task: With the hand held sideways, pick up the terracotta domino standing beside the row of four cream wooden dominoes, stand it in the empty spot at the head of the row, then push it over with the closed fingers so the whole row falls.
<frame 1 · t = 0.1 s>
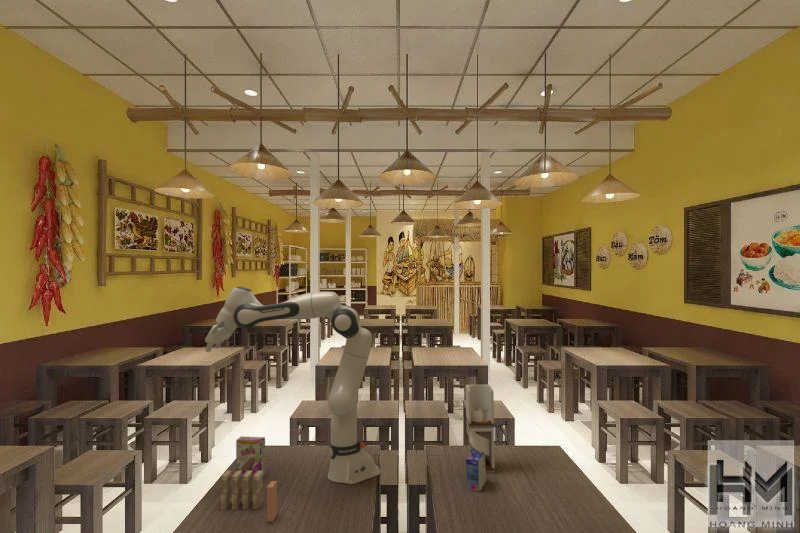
hand: (211, 349, 204), 54 cm above the table, tool tilted 30°, fingers open, 8 cm apart
cream domino 3: (237, 505, 179), on the table
ink cartridge box: (476, 486, 192), on the table
cream domino 4: (226, 505, 179), on the table
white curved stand: (480, 468, 209), on the table
cream domino 2: (247, 505, 178), on the table
cream domino 1: (258, 505, 178), on the table
candy bar box: (251, 477, 203), on the table
terracotta domino: (272, 518, 169), on the table
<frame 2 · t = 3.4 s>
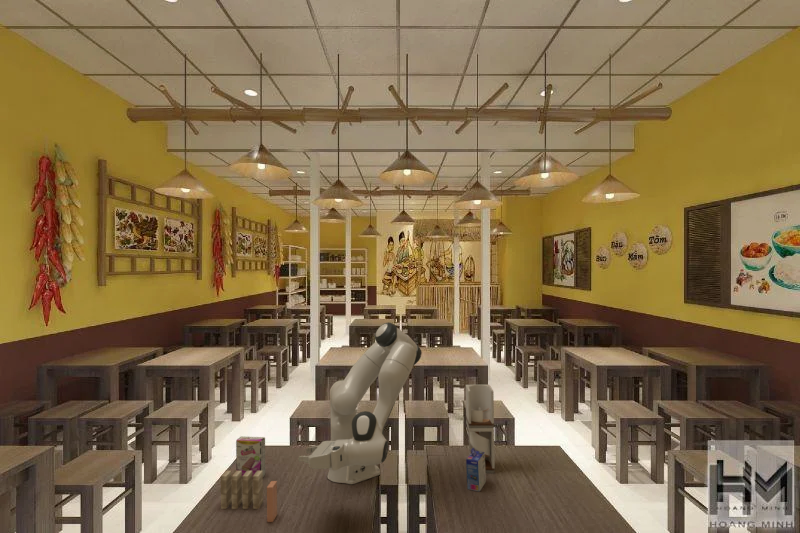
hand: (302, 454, 168), 23 cm above the table, tool horizontal, fingers open, 8 cm apart
nothing on the table moved.
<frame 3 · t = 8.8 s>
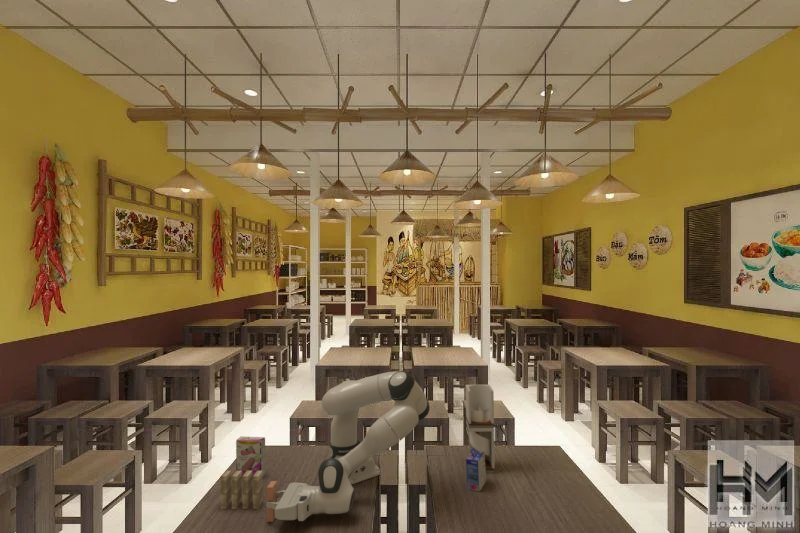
hand: (269, 499, 169), 7 cm above the table, tool horizontal, fingers closed on terracotta domino, 5 cm apart
terracotta domino: (272, 518, 169), on the table, touching gripper
everything else where it was.
when the fingers open (7 cm above the table, at t = 14.2 s): terracotta domino stays where it is, on the table.
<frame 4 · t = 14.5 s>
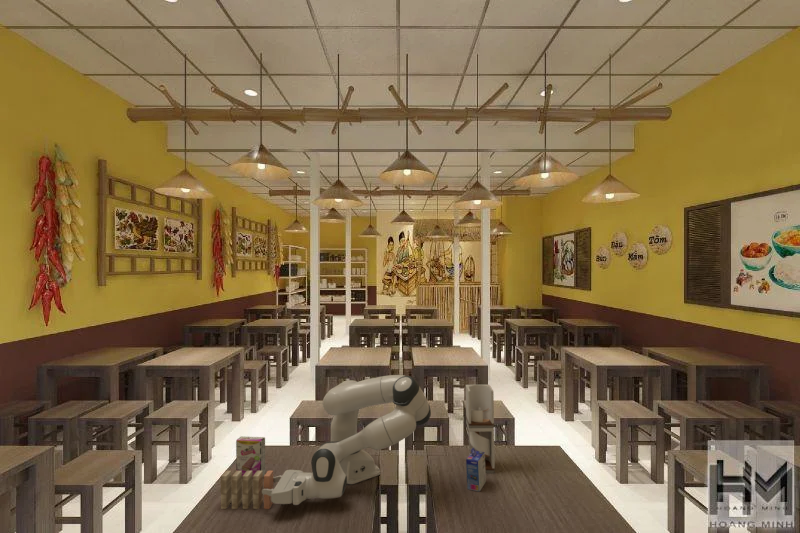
hand: (266, 485, 178), 7 cm above the table, tool horizontal, fingers open, 8 cm apart
terracotta domino: (268, 505, 178), on the table
everything else where it was.
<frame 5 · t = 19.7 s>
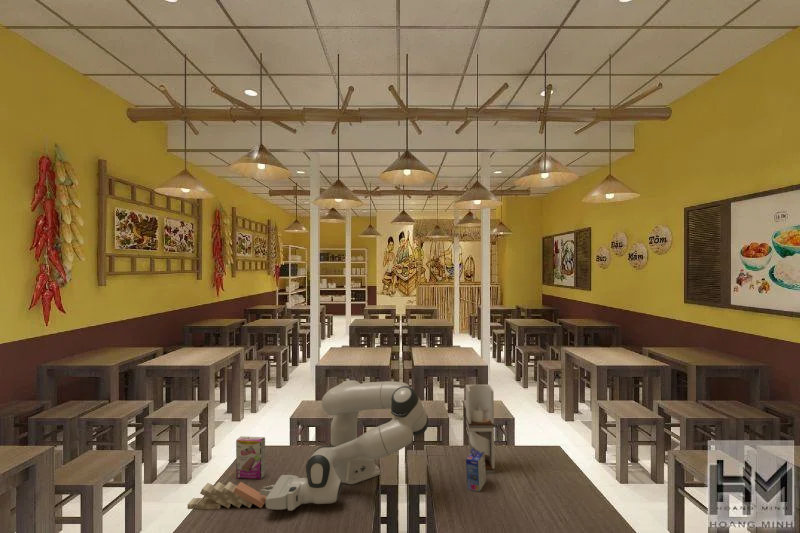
hand: (261, 490, 178), 6 cm above the table, tool horizontal, fingers closed
cream domino 3: (232, 502, 179), point 1 cm above the table, tilted 62°, touching cream domino 2
cream domino 4: (222, 503, 179), point 1 cm above the table, tilted 90°
cream domino 2: (242, 502, 179), point 1 cm above the table, tilted 61°, touching cream domino 1, cream domino 3
cream domino 1: (253, 502, 179), point 1 cm above the table, tilted 61°, touching cream domino 2, terracotta domino
terracotta domino: (264, 502, 179), point 1 cm above the table, tilted 61°, touching cream domino 1
everything else where it was.
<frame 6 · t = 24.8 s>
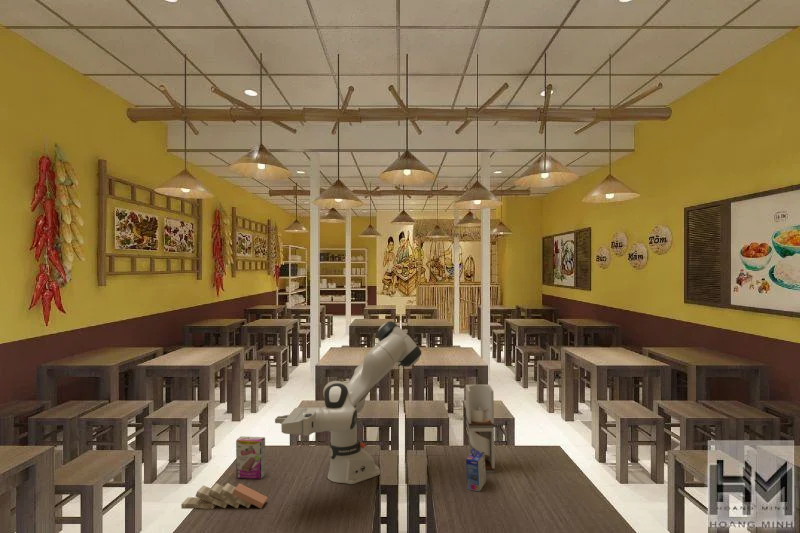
hand: (276, 419, 178), 32 cm above the table, tool horizontal, fingers closed
cream domino 3: (228, 502, 179), point 1 cm above the table, tilted 68°, touching cream domino 2, cream domino 4
cream domino 4: (216, 503, 179), point 1 cm above the table, tilted 90°, touching cream domino 3
cream domino 2: (240, 502, 179), point 1 cm above the table, tilted 64°, touching cream domino 1, cream domino 3
at the end: cream domino 4 tilted 90°; terracotta domino tilted 64°; terracotta domino inside the target area (1.3 cm from its centre), point 0.9 cm above the table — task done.
